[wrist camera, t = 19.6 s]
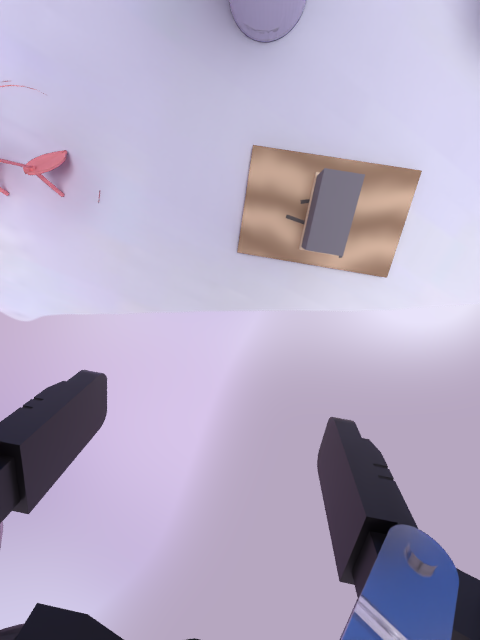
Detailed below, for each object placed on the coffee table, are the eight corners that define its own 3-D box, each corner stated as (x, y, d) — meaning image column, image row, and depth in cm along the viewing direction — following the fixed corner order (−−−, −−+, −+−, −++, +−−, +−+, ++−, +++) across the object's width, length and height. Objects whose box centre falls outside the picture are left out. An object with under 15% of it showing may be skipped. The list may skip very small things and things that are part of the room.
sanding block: (315, 172, 38) (323, 163, 32) (353, 178, 38) (367, 170, 32) (298, 249, 41) (303, 253, 36) (333, 254, 41) (343, 259, 36)
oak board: (253, 147, 39) (253, 145, 38) (416, 172, 38) (421, 170, 37) (238, 251, 44) (237, 252, 42) (382, 275, 43) (386, 277, 41)
